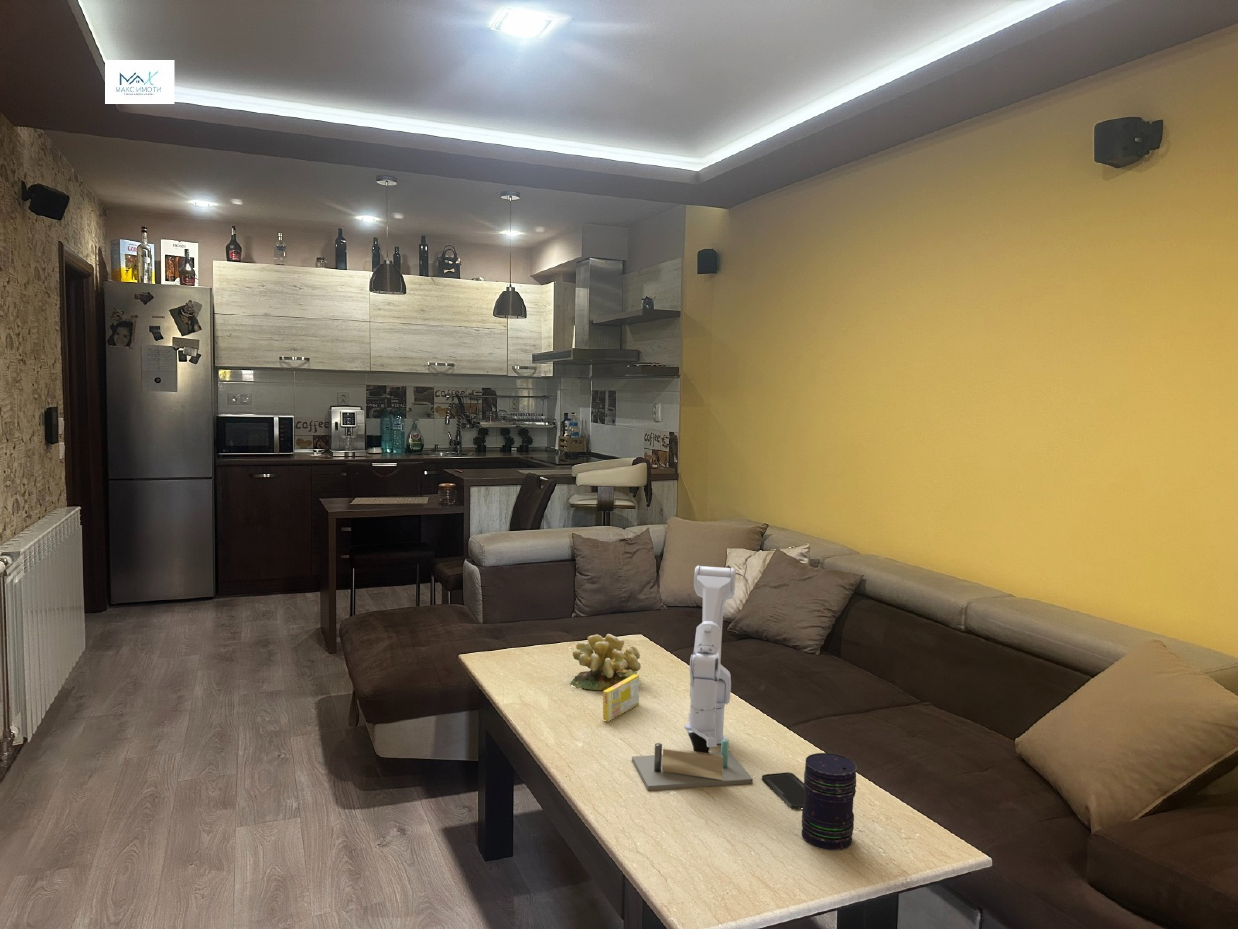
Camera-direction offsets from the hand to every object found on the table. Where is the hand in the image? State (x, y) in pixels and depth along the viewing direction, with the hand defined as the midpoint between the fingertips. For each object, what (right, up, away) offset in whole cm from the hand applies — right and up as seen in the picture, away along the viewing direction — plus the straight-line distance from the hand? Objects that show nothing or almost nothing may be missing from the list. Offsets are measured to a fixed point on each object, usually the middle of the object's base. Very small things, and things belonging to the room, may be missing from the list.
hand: (700, 765), depth 188 cm
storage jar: (+22, -6, -24) cm, 33 cm away
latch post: (+6, -3, +4) cm, 7 cm away
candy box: (-18, 0, +38) cm, 42 cm away
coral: (-23, +3, +62) cm, 66 cm away
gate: (-2, -1, -1) cm, 3 cm away
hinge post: (-10, -2, +1) cm, 10 cm away
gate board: (-2, -3, +3) cm, 4 cm away
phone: (+19, -5, -5) cm, 20 cm away
